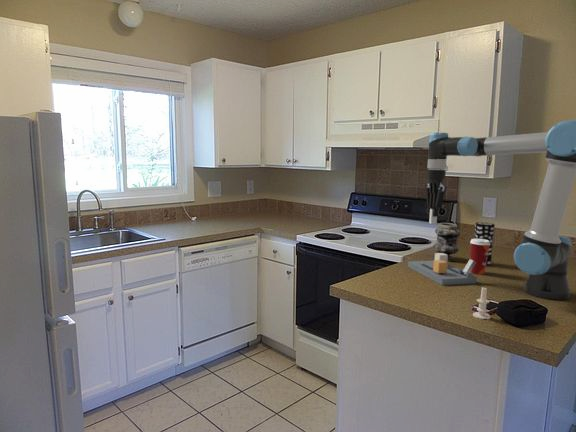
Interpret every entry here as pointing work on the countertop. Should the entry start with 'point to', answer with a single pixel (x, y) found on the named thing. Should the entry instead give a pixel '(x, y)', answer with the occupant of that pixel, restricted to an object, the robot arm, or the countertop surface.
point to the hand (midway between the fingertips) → (432, 223)
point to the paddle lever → (469, 266)
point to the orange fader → (440, 266)
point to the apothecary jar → (447, 239)
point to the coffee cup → (479, 255)
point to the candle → (482, 306)
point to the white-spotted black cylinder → (485, 236)
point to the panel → (447, 278)
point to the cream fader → (441, 256)
